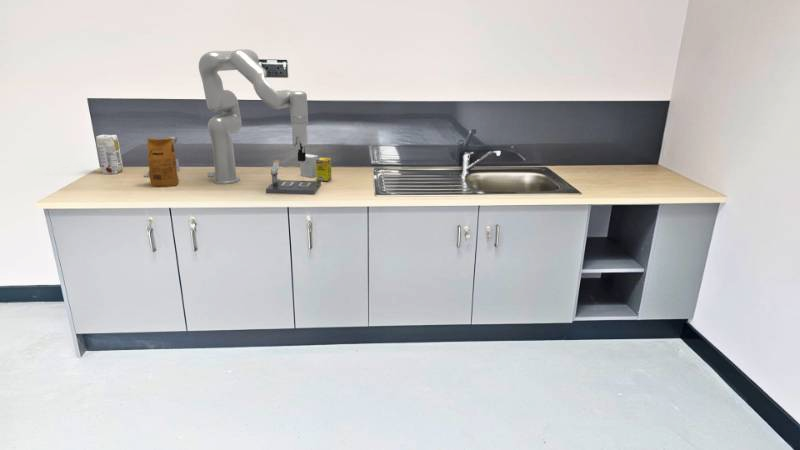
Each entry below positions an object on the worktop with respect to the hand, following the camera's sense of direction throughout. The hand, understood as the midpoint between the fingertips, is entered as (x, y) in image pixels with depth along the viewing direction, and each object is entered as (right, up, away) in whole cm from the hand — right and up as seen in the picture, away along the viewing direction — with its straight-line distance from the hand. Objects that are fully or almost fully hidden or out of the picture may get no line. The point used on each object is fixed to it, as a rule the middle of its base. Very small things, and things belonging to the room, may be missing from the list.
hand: (301, 160), depth 228 cm
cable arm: (-15, -3, +11) cm, 19 cm away
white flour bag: (-102, -3, +27) cm, 105 cm away
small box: (-2, -4, +29) cm, 30 cm away
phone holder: (-76, -3, +27) cm, 81 cm away
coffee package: (-66, -10, +8) cm, 68 cm away
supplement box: (+7, -7, +21) cm, 23 cm away
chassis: (-4, -13, +5) cm, 14 cm away
